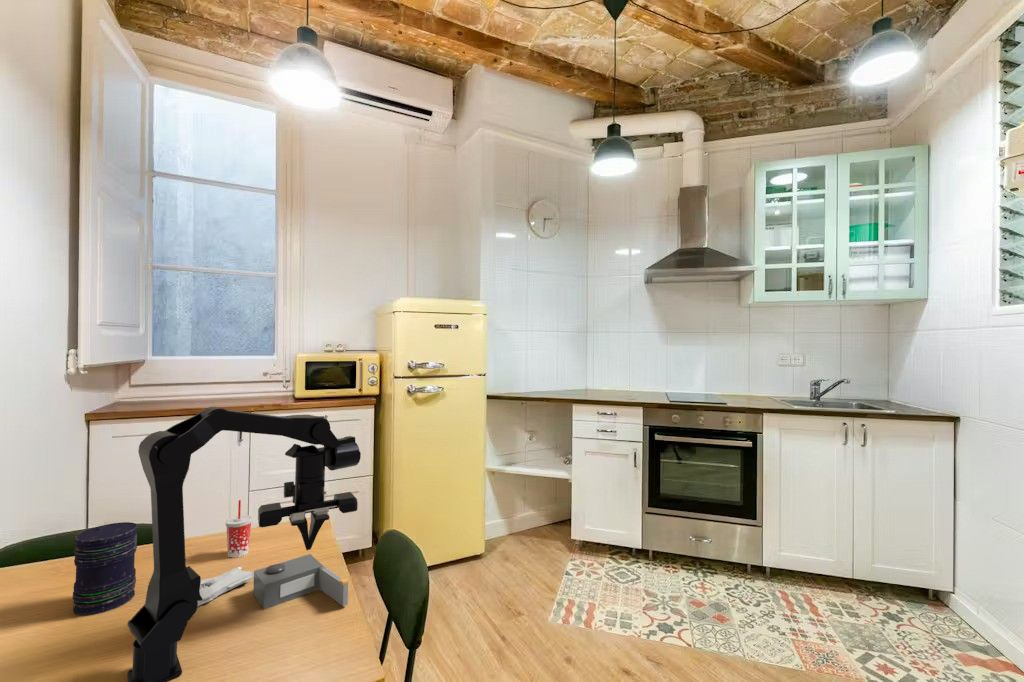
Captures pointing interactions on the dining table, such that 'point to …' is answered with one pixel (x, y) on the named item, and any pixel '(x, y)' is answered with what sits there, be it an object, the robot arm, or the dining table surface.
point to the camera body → (286, 580)
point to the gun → (222, 584)
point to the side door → (333, 586)
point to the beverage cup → (238, 534)
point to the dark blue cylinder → (104, 568)
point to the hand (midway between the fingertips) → (308, 549)
